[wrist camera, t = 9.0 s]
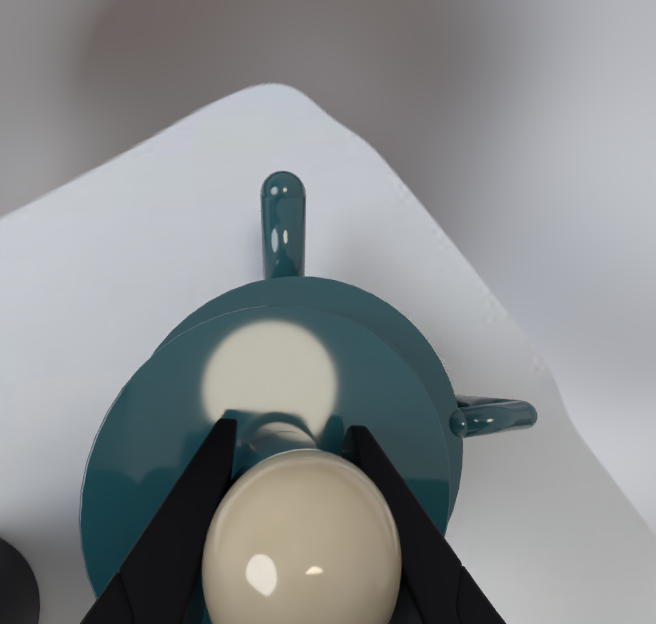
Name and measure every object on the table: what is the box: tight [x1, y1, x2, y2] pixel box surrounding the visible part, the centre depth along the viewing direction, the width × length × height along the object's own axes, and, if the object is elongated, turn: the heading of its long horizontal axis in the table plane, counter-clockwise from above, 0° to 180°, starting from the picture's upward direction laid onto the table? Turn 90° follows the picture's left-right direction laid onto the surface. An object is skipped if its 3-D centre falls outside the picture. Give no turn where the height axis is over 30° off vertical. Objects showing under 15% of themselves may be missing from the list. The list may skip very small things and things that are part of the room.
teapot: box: [151, 171, 537, 525], centre depth 18 cm, size 18×17×8 cm
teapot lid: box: [79, 305, 451, 624], centre depth 7 cm, size 9×9×6 cm
